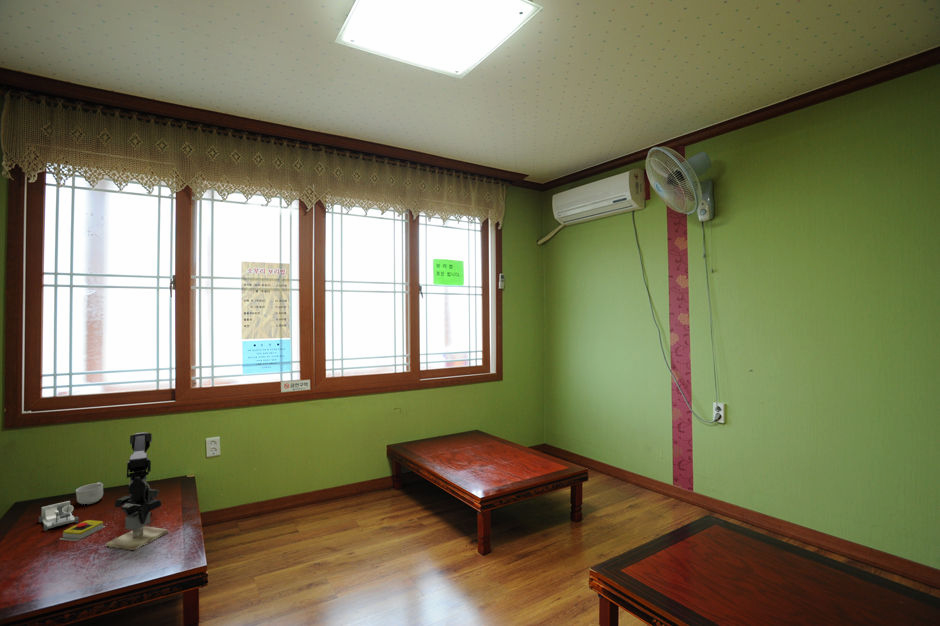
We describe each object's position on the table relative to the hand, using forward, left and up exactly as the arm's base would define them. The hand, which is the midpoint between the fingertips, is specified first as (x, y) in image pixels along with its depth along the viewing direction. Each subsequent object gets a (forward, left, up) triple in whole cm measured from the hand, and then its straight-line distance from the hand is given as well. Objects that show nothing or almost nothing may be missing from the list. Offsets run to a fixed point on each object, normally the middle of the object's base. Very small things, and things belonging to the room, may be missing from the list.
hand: (138, 523), depth 200 cm
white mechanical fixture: (-3, -48, -8) cm, 49 cm away
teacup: (-26, -59, -7) cm, 65 cm away
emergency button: (+1, -29, -8) cm, 30 cm away
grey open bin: (0, 0, -1) cm, 1 cm away
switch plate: (0, 0, -7) cm, 7 cm away
